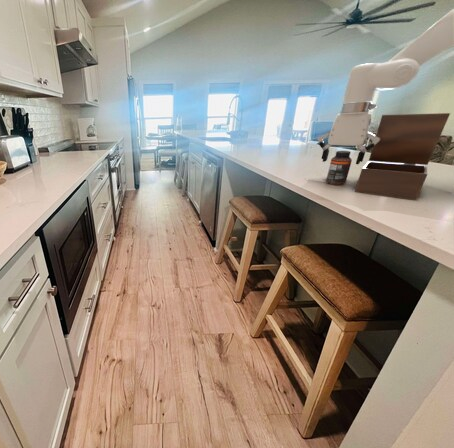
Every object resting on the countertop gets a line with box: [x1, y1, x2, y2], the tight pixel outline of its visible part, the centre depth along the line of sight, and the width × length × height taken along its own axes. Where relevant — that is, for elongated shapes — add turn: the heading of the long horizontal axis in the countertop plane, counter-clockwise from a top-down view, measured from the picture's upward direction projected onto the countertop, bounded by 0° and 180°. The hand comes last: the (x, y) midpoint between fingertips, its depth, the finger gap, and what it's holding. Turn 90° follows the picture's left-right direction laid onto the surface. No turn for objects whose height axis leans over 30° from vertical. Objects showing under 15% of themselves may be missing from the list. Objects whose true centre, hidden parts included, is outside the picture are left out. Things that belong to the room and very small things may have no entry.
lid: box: [368, 112, 451, 166], centre depth 75 cm, size 15×14×1 cm
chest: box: [354, 161, 428, 201], centre depth 77 cm, size 14×14×8 cm
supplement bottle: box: [325, 150, 352, 186], centre depth 86 cm, size 6×6×11 cm
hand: (340, 162), depth 85 cm, fingers open, 9 cm apart
